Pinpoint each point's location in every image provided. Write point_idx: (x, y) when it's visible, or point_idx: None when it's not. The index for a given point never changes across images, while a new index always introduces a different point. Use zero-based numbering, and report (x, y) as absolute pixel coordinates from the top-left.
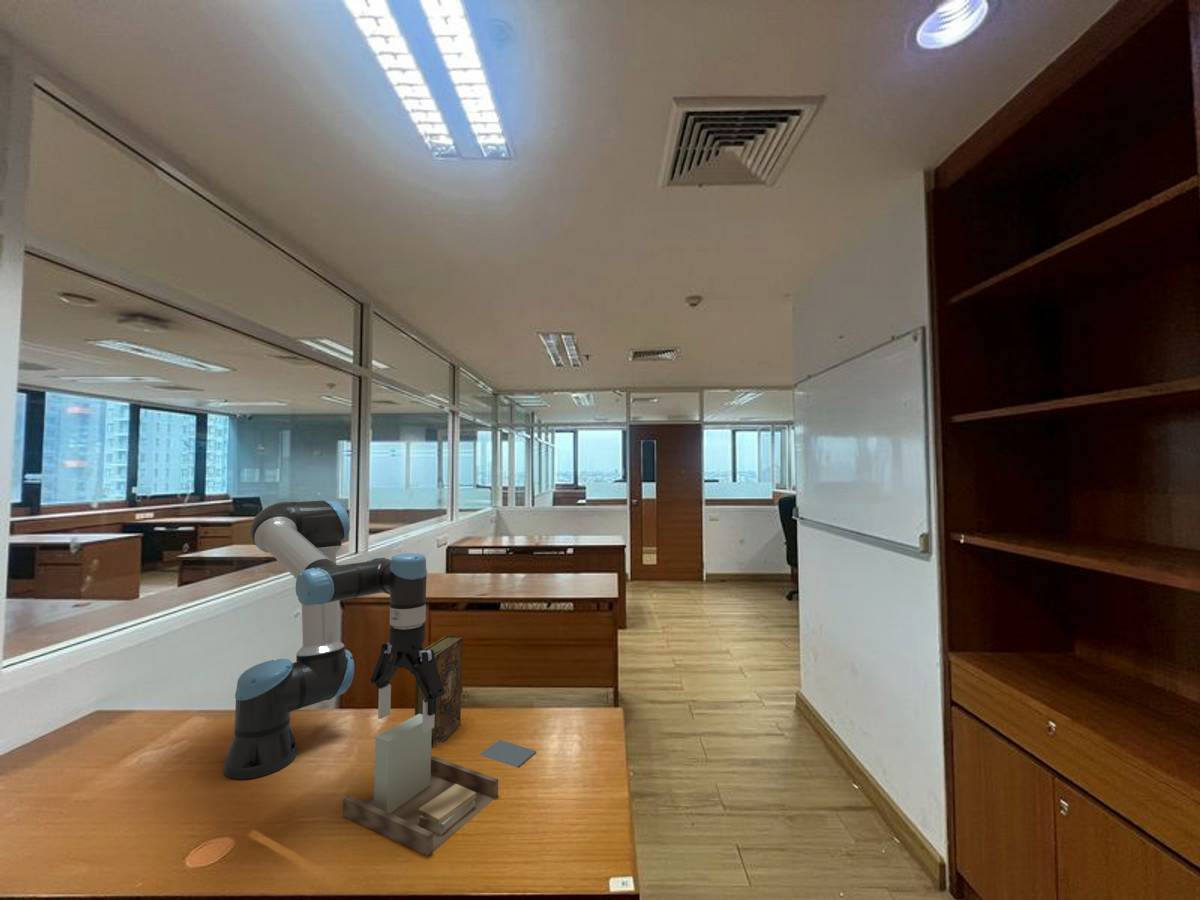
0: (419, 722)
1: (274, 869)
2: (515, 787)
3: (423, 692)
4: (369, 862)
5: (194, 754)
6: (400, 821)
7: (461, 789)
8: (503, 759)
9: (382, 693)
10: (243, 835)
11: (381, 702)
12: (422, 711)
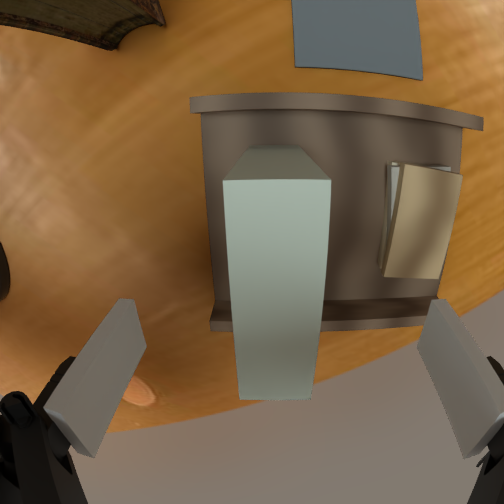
0: (311, 256)
1: (229, 386)
2: (453, 56)
3: (476, 491)
4: (343, 334)
5: None
6: (380, 324)
7: (429, 178)
8: None
9: (100, 431)
10: None
11: (119, 398)
12: (69, 12)
